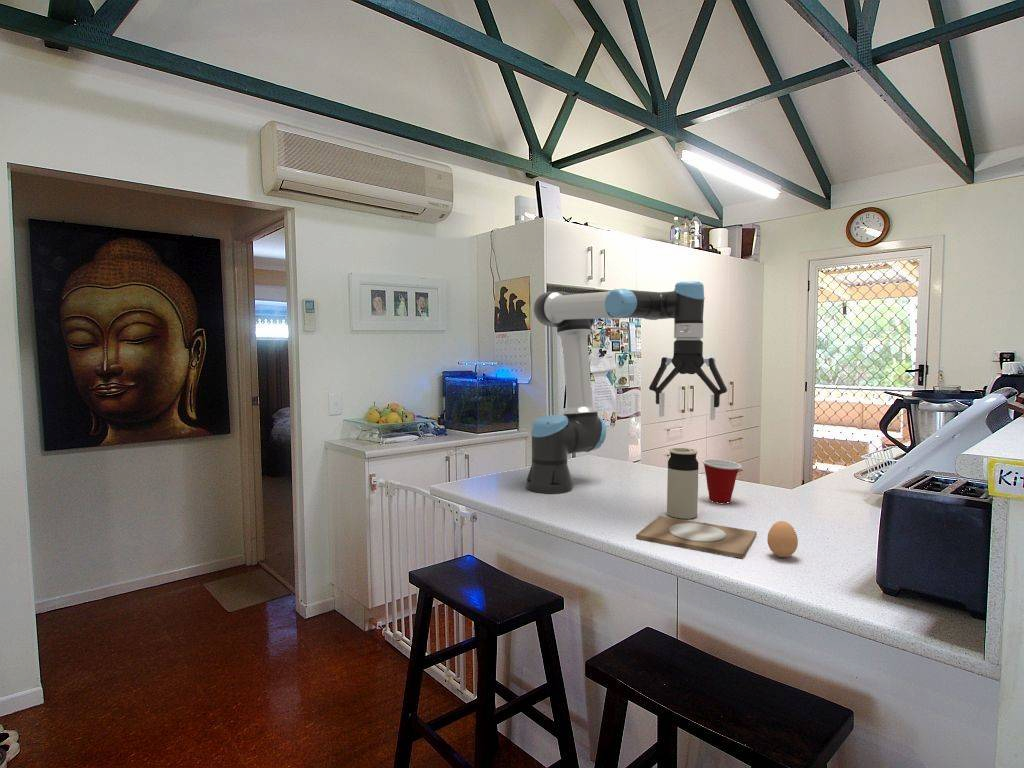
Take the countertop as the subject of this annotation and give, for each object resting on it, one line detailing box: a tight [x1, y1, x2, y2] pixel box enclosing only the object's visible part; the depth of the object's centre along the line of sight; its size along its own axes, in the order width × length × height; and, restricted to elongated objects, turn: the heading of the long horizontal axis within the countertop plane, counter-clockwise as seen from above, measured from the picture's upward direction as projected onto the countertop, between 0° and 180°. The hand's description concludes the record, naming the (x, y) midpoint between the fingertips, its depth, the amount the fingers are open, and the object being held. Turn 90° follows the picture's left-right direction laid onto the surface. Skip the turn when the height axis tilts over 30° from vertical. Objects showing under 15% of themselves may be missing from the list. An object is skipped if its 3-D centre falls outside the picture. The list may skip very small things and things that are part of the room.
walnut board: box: [635, 515, 757, 559], centre depth 135 cm, size 24×18×1 cm
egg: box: [767, 520, 799, 559], centre depth 122 cm, size 6×6×8 cm
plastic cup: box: [702, 458, 742, 503], centre depth 166 cm, size 11×11×12 cm
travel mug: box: [666, 447, 699, 520], centre depth 152 cm, size 8×8×18 cm
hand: (686, 417), depth 152 cm, fingers open, 13 cm apart
